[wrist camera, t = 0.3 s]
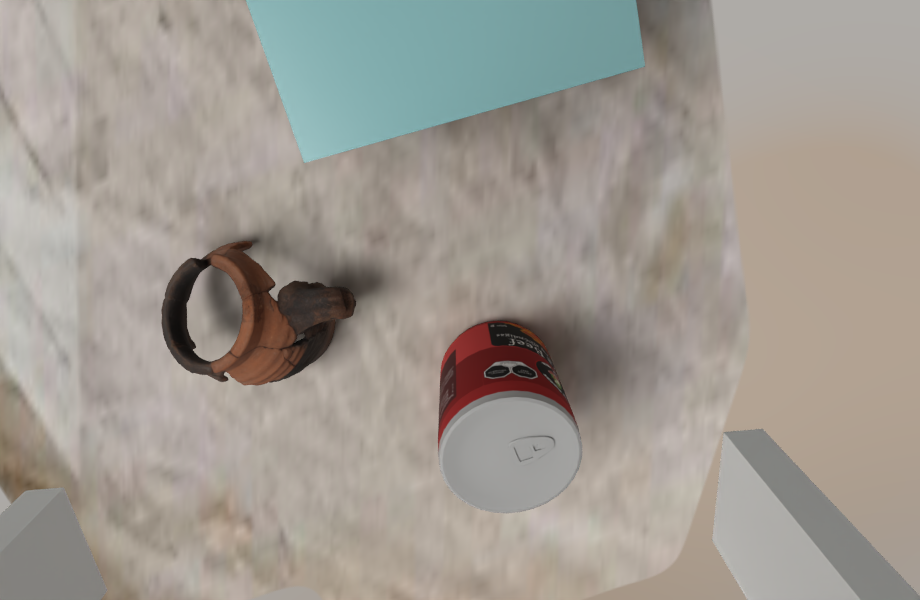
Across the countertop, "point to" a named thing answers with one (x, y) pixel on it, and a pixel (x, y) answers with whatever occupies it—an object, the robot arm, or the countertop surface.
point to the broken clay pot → (256, 320)
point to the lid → (431, 60)
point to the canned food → (504, 421)
